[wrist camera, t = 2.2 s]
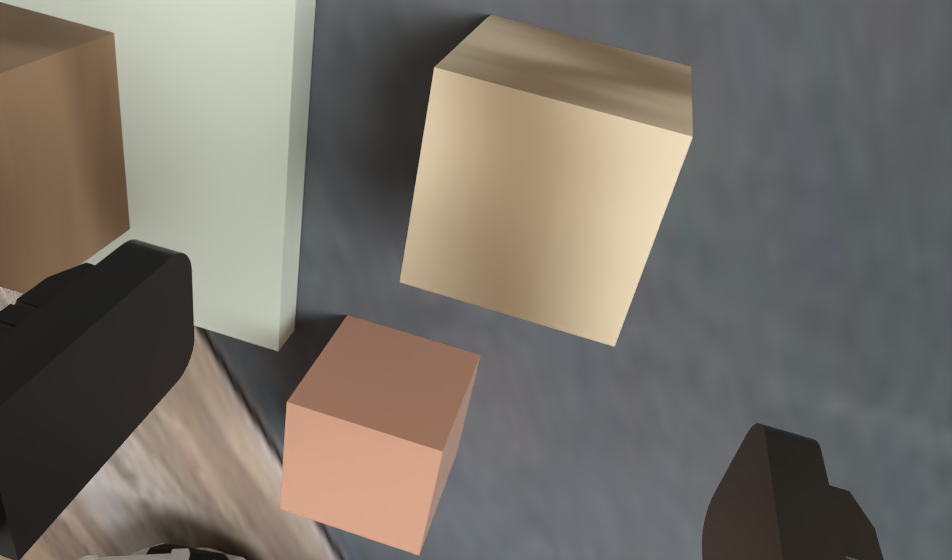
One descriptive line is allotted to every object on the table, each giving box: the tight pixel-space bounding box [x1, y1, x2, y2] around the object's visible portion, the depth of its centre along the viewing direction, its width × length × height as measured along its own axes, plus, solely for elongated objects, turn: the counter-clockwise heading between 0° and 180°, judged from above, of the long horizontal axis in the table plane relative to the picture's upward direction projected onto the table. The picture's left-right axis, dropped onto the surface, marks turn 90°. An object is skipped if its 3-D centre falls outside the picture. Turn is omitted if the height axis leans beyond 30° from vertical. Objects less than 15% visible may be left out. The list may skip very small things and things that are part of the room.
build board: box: [0, 0, 316, 351], centre depth 22 cm, size 16×12×1 cm
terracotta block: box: [280, 315, 480, 555], centre depth 23 cm, size 4×4×4 cm
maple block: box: [400, 15, 693, 347], centre depth 17 cm, size 5×5×5 cm
